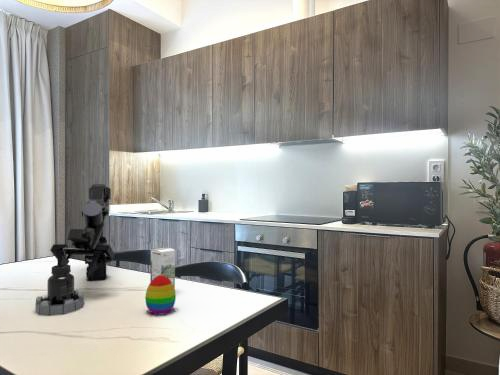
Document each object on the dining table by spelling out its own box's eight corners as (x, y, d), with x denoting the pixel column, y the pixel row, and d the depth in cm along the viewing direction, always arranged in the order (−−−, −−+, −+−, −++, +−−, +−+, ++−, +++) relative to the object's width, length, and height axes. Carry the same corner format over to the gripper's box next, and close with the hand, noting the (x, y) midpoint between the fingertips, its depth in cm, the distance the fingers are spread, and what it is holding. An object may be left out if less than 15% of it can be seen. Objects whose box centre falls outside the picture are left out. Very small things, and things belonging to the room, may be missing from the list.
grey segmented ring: (86, 299, 108) (86, 288, 108) (80, 312, 97) (80, 299, 97) (41, 303, 104) (41, 291, 104) (31, 317, 93) (31, 304, 93)
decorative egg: (180, 311, 97) (181, 275, 97) (153, 318, 92) (153, 280, 92) (166, 304, 103) (167, 270, 103) (140, 310, 98) (140, 274, 98)
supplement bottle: (41, 309, 99) (42, 267, 99) (64, 302, 105) (64, 262, 105) (57, 313, 96) (57, 269, 96) (79, 306, 102) (79, 264, 102)
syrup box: (164, 289, 118) (164, 247, 119) (175, 293, 115) (175, 248, 115) (149, 293, 114) (150, 249, 114) (161, 297, 110) (161, 251, 110)
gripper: (53, 218, 112) (30, 260, 101) (110, 219, 111) (92, 261, 100) (68, 239, 120) (47, 280, 109) (120, 240, 119) (105, 281, 108)
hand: (72, 275), depth 107 cm, fingers open, 9 cm apart
